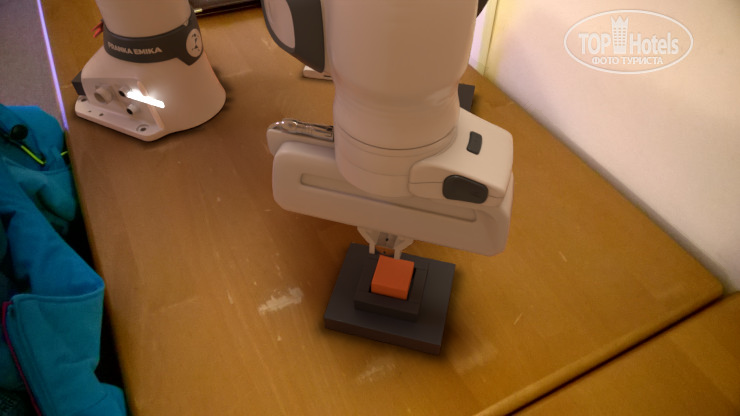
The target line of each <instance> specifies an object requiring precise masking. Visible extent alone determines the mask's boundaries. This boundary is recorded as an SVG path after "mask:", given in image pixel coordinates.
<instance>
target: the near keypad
mask: <svg viewBox="0 0 740 416" xmlns="http://www.w3.org/2000/svg"><path fill="white" fill-rule="evenodd" d="M379 257H380V255H377V254H371V253H369V245H367V244H362V243H359V242H358V243H357V242H352V241H351V242H350V243H349V247H348V248H347V252H346V254H345V257H344V260H343V263H342V266H341V268H340V271H339V274H338V276H337V278H336V281H335V284H334V287H333V290H332V293H331V295H330V298H329V301H328V304H327V306H326V310H325V312H324V314H323V325H324V328H325V329H327V330H328V329H329V330H332V331H336V332H341V333H343V334H344V333H345V334H349V335H354V336H357V337H361V338H366V339H369V340H374V341H378V342H382V343H386V344H390V345H394V346H399V347H403V348H405V349H411V350H415V351H419V352H424V353H427V354H431V355H435V356H440V351H441V346H442V341H443V336H444V331H445V325H446V320H447V314H448V309H449V303H450V298H451V294H452V293H451V292H452V287H453V281H454V277H455V271H456V266H457V264H456V263H453V262H448V261H443V260H439V259H435V258H434V259H433V258H430V257H424V256H420V255H414V254H410V253H405V252H402V253H401V256H400V259H401V260H406V261H411V262H414V269H413V275H412V279H411V283H410V287H409V291H408V295H407V299H406V300H402V299H398V298H393V297H389V296H385V295H380V294H376V293H372V292H371V283H372V280H373V276H374V273H375V270H376V267H377V264H378V260H379Z"/></svg>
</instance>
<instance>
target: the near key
mask: <svg viewBox="0 0 740 416" xmlns="http://www.w3.org/2000/svg"><path fill="white" fill-rule="evenodd" d="M413 269H414V262H411V261H406V260H401V259H399V260H397V259H393V258H389V257H385V256H381V255H380V257H379V260H378V264H377V267H376V270H375V273H374V276H373V280H372V283H371V292H372V293H376V294H380V295H385V296H389V297H393V298H398V299H402V300H406V299H407V295H408V291H409V287H410V283H411V279H412V275H413Z"/></svg>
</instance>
